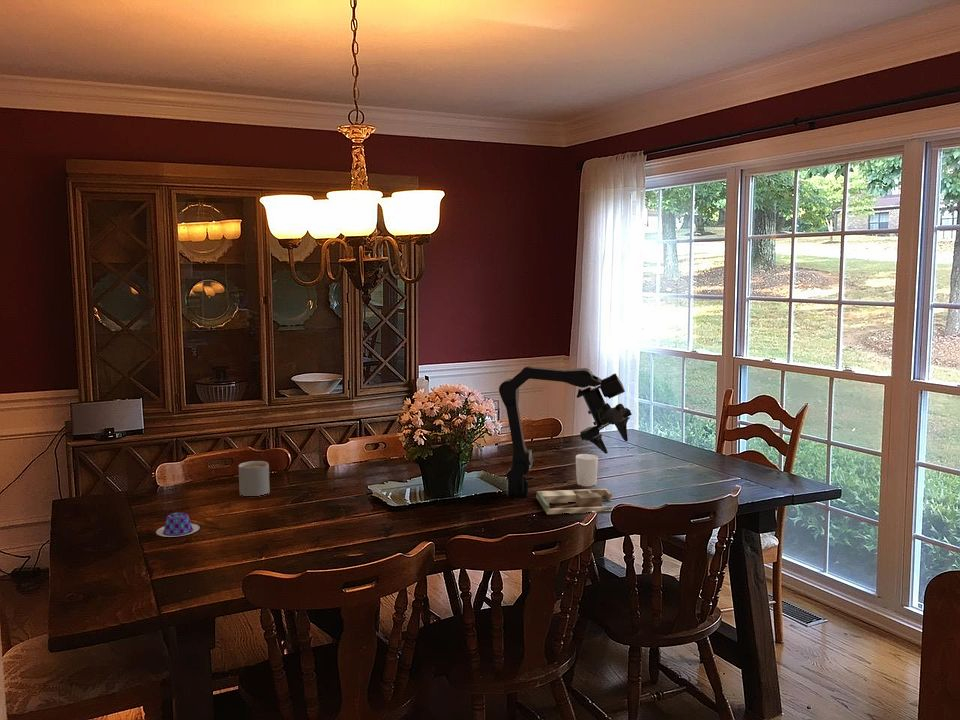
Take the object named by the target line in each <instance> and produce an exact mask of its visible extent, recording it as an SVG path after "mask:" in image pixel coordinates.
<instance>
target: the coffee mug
mask: <svg viewBox="0 0 960 720" xmlns="http://www.w3.org/2000/svg"><path fill="white" fill-rule="evenodd" d="M238 482H239V483H238V488H239V496H241V495H243V496H259V497H261V496H260V495H264V494H267V493H268V494H270V491H271V490H270V465H269V462H267V461H264V460H251V461H246V462H242V463H239V464H238ZM268 494H267V495H268ZM243 496H242V497H243ZM264 496H265V495H264Z"/></svg>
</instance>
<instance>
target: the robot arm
mask: <svg viewBox="0 0 960 720" xmlns="http://www.w3.org/2000/svg"><path fill="white" fill-rule="evenodd" d="M530 379H531V380H540V381H541V380H542V381H550V382H552V381H553V382H558V383H559V382H560V383H566V384H568V385H571V386H573V387H574V386H575V387H578V389H577V395H576V398H577V399H578V398H581V397H582V398H583V399H584V401H585V403H586V406H587V408H588V409H589V410H588V411H587V412H588V415H591V417H592V418H593V420H594V421H592V424H593V426H589V427H587V428H585V429H583V430H581V431H580V433H579V436H580V439H581V440H582V441H584V440H585V441H586V442H590V443H592V444H593V445H595V446H596V448H598V449H599V450H600V451H602V452H603V453H604V454H606V455H607V454H609V452H608V450H607V447H606V445H605V443H604V441H603V439H602V438H603V437H602V433H600V431H601V430H603V429H605V428H606V427H609V426H610V425H613V426H615V427H616V429H617V431H618V433H619V434H620V436H621V438H622V439H623V441H624V442H629V441H628V440H629V438H628V429H627V428H628V427H627V424H628V421H629V420H630V418H631V417H630V416H632V412H631V410H630V408H628V407H624V404H622V403H618V404H616V405H615V406H614V407H611V405H610V404H609V403H606V401H605V399H604V398H608V400H609V399H613V398H614V397H617V396H619V395H621V394H623V393H625V392H626V391H625V387H624V385H623V383H622V380H620V378H619V377H618V375H617V373H613V374H611V375H608V377H607V376H606V377H605V378H603V379H602V378H600V377H598V376H597V375H594V374H593V372H592V371H591V370H590V369H589V368H586V367H582V368H581V367H580V368H573V369H572V368H571V369H560V368H559V369H558V368H549V367H548V368H546V367H538V366H533V365H532V366H531V365H527V366H524V368H522V370H521V371H520V372H519V373H517V374H516V375H514V377H512V378H507V379H505V380H504V381H503V382H501V383H500V385H499V387H498V392H499V396H500V398H501V400H502V402H503V405H504V407H505V408H506V415H507V419H508V421H507V422H508V426H509V431H510V436H511V443H512V457H511V458H512V466H511V467H509V468H508V470H507V472H506V473H505V476H506V491H507V492H506V491H505V495H506V496H507V497H508V498H525V497H526V498H528V494H529V481H528V480H527V477H526V475H527V474H528V473H529V471H530V470H531V468H532V466H533V462H534V461H535V460H534V457H533V450H532V448H530V449H528V448H527V446H526V443H525V438H524V437H525V436H524V431H523V424H522V419H521V413H520V407H519V401H520V400H519V399H520V387H521V386H522V385H523V384H524V383H525V382H527V381H528V380H530ZM582 388H583V389H582Z"/></svg>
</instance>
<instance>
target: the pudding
mask: <svg viewBox="0 0 960 720" xmlns="http://www.w3.org/2000/svg"><path fill="white" fill-rule="evenodd" d="M199 530H200V525H198V524H196V523H192V522H191V520H190V517H189V514H188V513H185V512H173V513H170V514H168V515H167V516H166V518H165V522H164V526H162V527H160V528H158V529H157V530H156V531H155V534H156V535H157V536H160V537H166V538H167V537H168V538H171V537H172V538H173V537H178V536H179V537H183V536H188V535H191V534H194V533H195V532H197V531H199Z"/></svg>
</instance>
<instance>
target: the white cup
mask: <svg viewBox="0 0 960 720" xmlns="http://www.w3.org/2000/svg"><path fill="white" fill-rule="evenodd" d="M598 466H599V456H598V455H596V454H589V453H582V454H577V455H575V470H576V471H575V472H576V473H575V475H576V484H577V485H578V486H580V485H581V487H594V486H593V485H595V486H597V477H598Z"/></svg>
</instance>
